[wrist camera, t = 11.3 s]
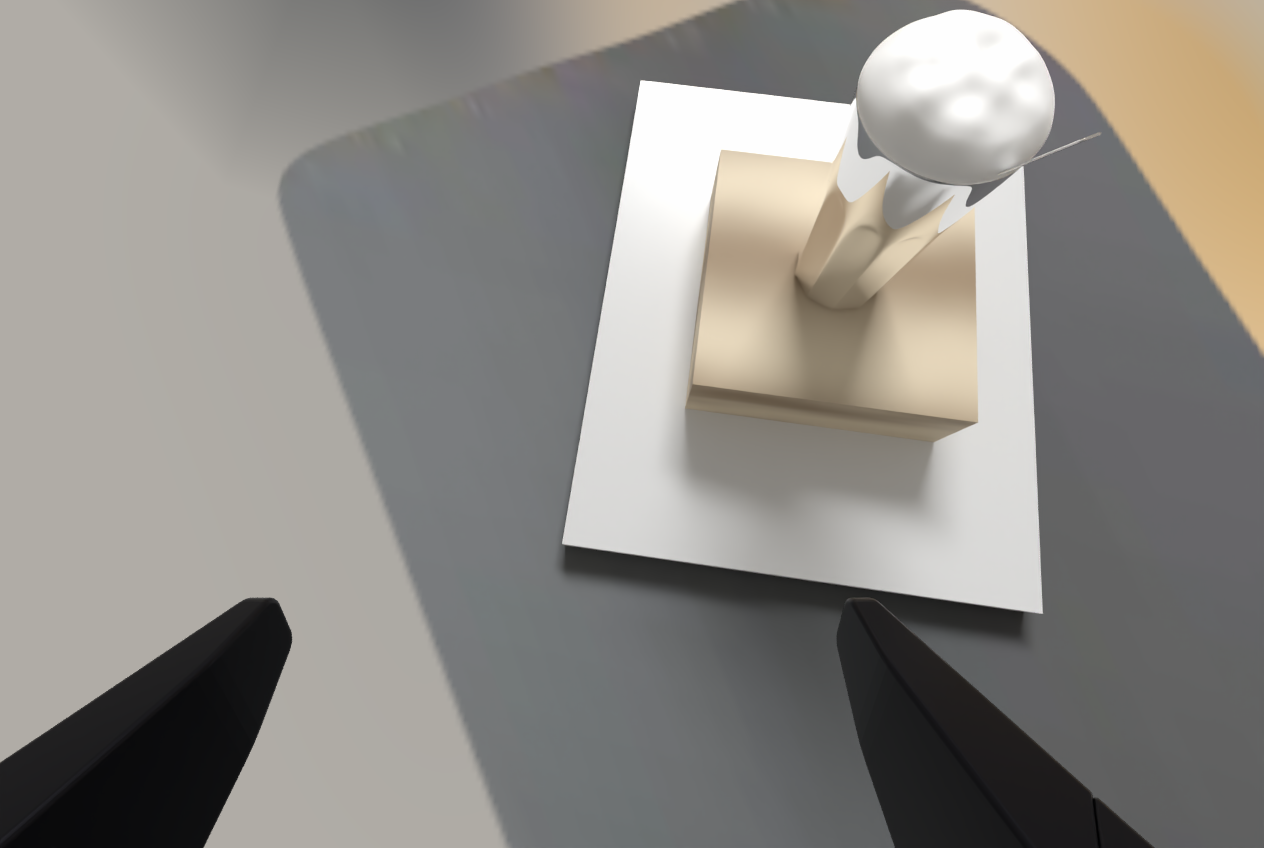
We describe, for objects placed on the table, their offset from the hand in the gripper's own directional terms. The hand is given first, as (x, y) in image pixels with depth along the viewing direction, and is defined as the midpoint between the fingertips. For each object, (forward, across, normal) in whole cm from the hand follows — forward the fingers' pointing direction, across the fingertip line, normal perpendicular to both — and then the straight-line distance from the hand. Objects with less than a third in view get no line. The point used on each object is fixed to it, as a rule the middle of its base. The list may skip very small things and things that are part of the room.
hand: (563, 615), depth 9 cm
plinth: (+18, -9, +2) cm, 20 cm away
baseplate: (+18, -9, +2) cm, 20 cm away
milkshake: (+15, -9, -1) cm, 17 cm away
